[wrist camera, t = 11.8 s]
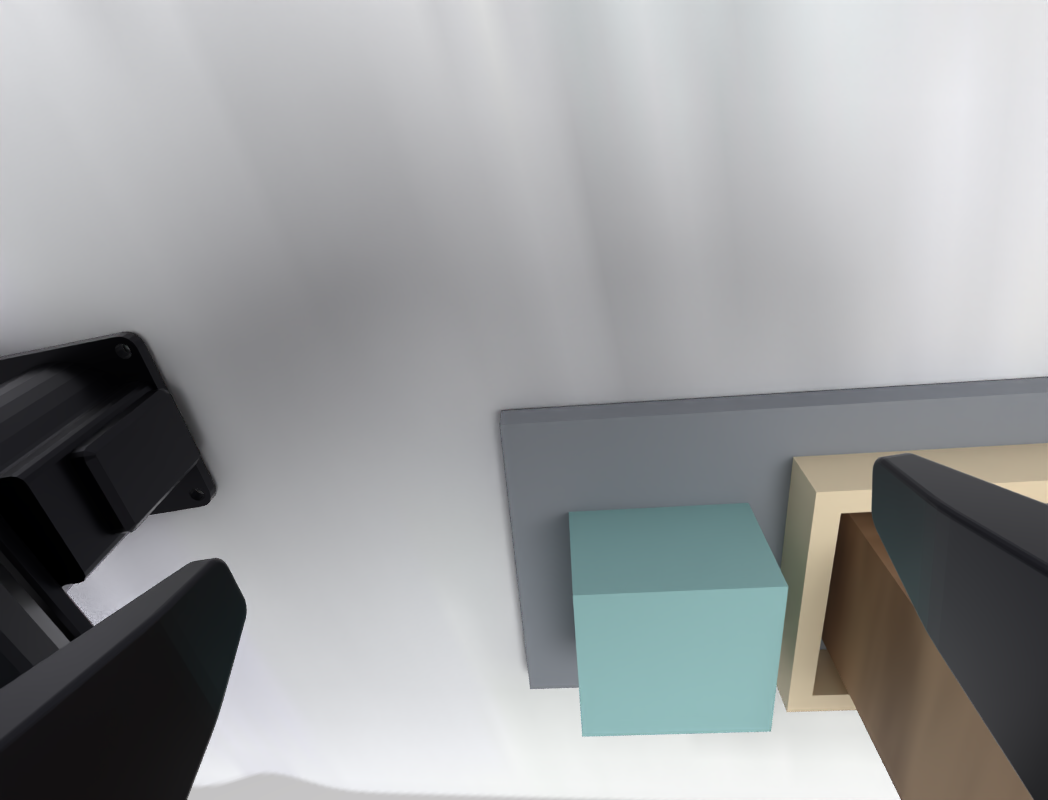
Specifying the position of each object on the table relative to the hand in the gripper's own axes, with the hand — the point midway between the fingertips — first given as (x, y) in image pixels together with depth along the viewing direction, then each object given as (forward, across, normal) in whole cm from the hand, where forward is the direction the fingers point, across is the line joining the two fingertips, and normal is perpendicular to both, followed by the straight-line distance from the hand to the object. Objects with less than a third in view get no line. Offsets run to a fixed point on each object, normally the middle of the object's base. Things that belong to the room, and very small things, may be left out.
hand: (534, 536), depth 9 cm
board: (+12, -9, +11) cm, 19 cm away
